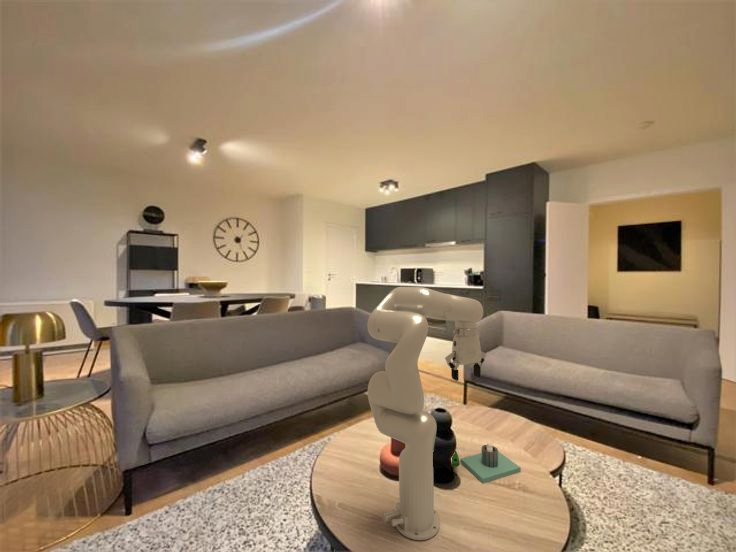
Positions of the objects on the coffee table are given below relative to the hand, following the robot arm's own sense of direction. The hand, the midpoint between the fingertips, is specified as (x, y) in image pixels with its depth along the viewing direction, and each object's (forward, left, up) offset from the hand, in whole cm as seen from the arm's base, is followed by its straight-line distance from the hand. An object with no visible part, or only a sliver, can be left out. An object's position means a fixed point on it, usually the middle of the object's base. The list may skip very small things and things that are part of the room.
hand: (466, 377), depth 117 cm
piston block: (+4, -8, -30) cm, 31 cm away
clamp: (-13, -2, -30) cm, 33 cm away
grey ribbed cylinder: (+4, -8, -29) cm, 30 cm away
